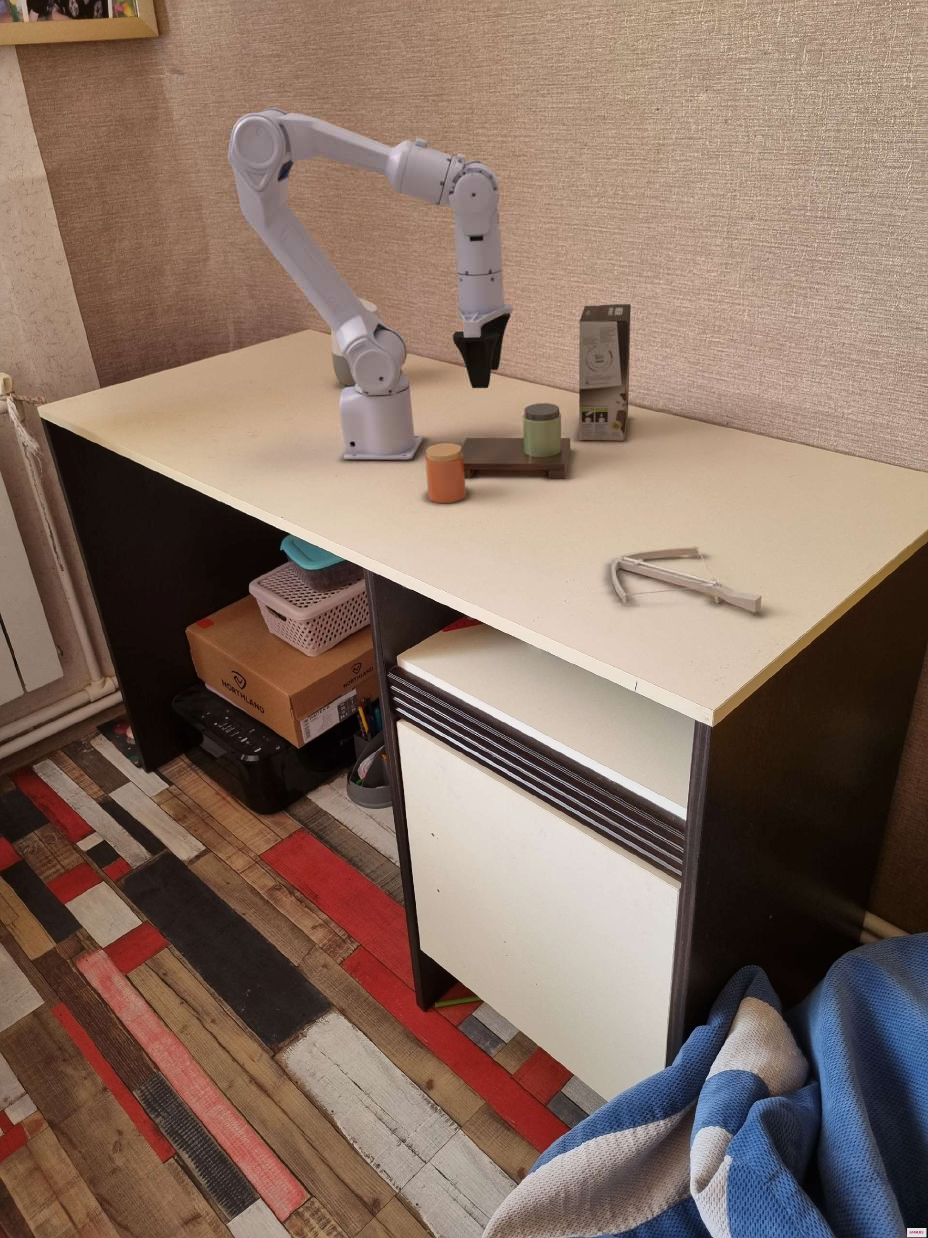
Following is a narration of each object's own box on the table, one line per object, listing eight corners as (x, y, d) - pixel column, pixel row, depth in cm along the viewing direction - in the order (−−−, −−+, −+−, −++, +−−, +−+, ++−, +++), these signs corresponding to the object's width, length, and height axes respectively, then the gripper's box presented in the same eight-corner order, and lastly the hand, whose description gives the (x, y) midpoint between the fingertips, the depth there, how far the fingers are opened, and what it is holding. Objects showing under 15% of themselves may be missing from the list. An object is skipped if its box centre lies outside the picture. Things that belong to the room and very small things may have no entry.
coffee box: (625, 441, 128) (628, 319, 119) (577, 440, 129) (577, 320, 121) (629, 418, 135) (632, 302, 127) (584, 417, 137) (584, 303, 128)
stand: (455, 477, 121) (453, 463, 120) (467, 451, 128) (466, 437, 127) (564, 478, 118) (564, 463, 117) (570, 451, 126) (570, 437, 125)
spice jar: (425, 503, 115) (420, 456, 112) (432, 487, 119) (428, 442, 116) (462, 503, 114) (458, 456, 111) (468, 488, 118) (465, 442, 115)
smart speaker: (388, 389, 154) (379, 301, 147) (332, 393, 154) (320, 305, 147) (393, 372, 162) (384, 287, 155) (339, 375, 162) (328, 291, 155)
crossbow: (580, 595, 95) (579, 577, 94) (652, 549, 102) (652, 531, 101) (721, 640, 85) (722, 620, 84) (791, 585, 92) (792, 566, 91)
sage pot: (521, 457, 120) (520, 415, 117) (526, 443, 124) (525, 402, 121) (559, 457, 119) (559, 415, 116) (563, 443, 123) (562, 402, 120)
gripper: (501, 282, 111) (506, 395, 118) (519, 257, 123) (523, 361, 130) (443, 284, 112) (451, 395, 119) (466, 259, 124) (473, 361, 131)
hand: (485, 378), depth 125 cm, fingers open, 7 cm apart
